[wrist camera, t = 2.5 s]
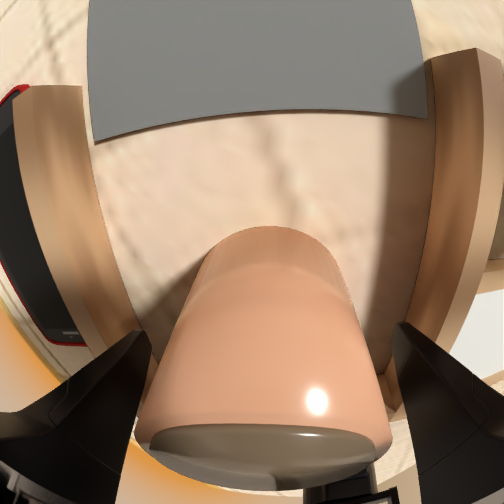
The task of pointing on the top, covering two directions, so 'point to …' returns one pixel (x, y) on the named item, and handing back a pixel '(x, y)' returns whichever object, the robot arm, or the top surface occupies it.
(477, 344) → the wood framed whiteboard
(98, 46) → the mat
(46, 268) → the cell phone
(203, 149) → the top surface
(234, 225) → the top surface
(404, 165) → the top surface
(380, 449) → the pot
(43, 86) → the wooden u-shaped frame
